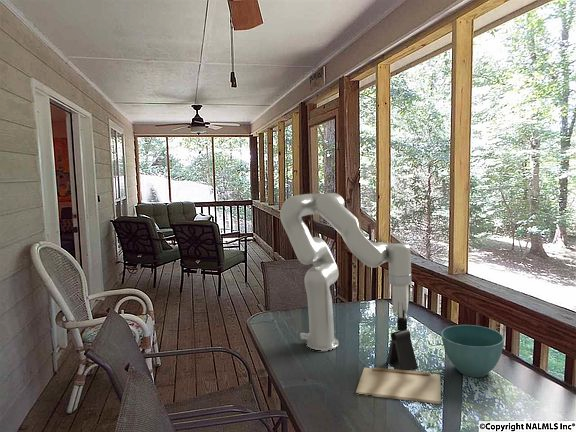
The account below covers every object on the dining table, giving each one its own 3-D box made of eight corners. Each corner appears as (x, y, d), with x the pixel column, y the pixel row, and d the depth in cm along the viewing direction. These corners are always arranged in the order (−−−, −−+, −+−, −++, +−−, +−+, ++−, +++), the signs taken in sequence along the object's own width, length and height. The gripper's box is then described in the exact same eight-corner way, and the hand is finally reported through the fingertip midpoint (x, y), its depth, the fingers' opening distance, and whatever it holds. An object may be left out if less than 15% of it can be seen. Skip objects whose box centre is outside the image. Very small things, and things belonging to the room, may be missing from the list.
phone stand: (418, 368, 136) (416, 333, 135) (403, 372, 134) (402, 337, 133) (400, 358, 145) (399, 325, 143) (386, 362, 142) (385, 328, 141)
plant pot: (478, 391, 120) (477, 351, 119) (430, 368, 136) (429, 332, 135) (517, 374, 128) (516, 337, 127) (467, 354, 144) (466, 320, 143)
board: (356, 394, 123) (355, 390, 123) (364, 369, 138) (364, 366, 138) (441, 404, 115) (440, 400, 114) (439, 377, 130) (439, 373, 129)
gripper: (391, 273, 151) (393, 321, 152) (387, 284, 137) (389, 337, 138) (412, 274, 148) (414, 323, 150) (410, 285, 134) (412, 338, 136)
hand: (402, 329), depth 144 cm, fingers closed
